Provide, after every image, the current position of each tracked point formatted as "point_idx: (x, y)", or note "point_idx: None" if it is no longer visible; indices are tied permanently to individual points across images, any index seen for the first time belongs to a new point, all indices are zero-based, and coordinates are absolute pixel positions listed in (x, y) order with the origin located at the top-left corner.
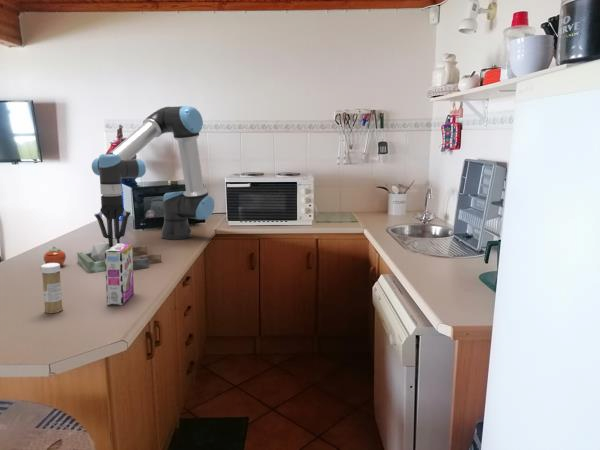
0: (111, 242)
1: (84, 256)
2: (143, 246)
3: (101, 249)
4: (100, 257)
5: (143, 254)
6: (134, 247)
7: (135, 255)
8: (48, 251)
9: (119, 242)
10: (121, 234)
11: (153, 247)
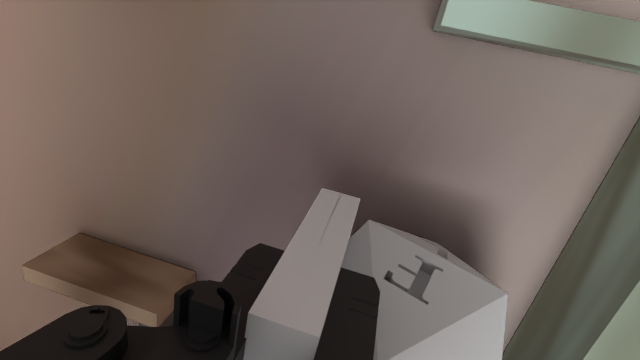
0: (346, 320)
1: (629, 353)
2: (43, 276)
3: (460, 328)
4: (468, 266)
5: (100, 241)
6: (106, 301)
7: (149, 257)
8: None
9: (231, 273)
10: (100, 352)
11: (15, 324)
